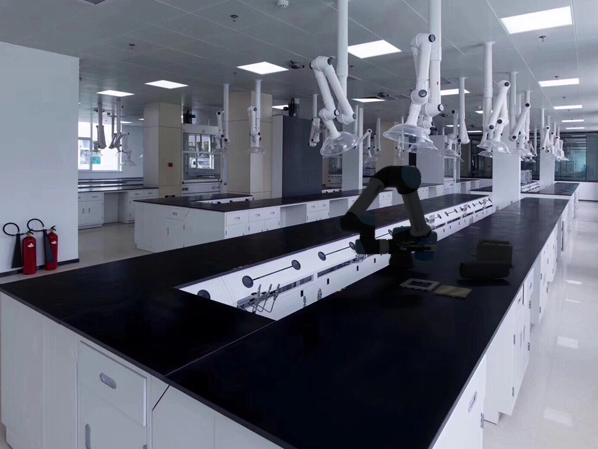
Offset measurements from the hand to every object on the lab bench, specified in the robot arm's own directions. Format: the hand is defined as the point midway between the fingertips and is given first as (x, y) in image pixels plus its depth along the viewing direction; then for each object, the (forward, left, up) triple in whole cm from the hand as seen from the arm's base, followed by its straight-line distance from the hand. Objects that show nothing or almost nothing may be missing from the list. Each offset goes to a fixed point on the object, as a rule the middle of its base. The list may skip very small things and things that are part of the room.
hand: (434, 246), depth 212 cm
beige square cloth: (+11, -5, -20) cm, 24 cm away
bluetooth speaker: (+18, +27, -20) cm, 38 cm away
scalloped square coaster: (-6, -1, -20) cm, 21 cm away
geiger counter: (+12, +73, -20) cm, 76 cm away
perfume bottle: (-4, -3, -7) cm, 8 cm away
